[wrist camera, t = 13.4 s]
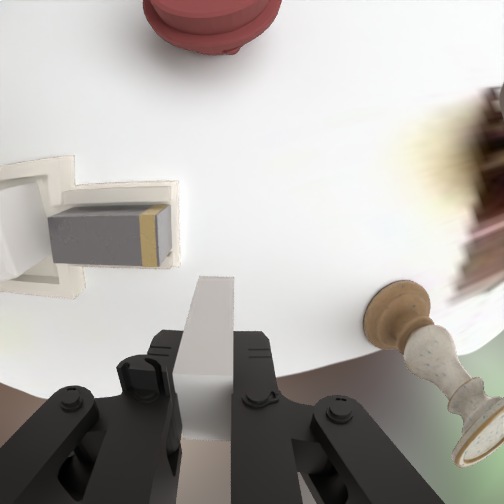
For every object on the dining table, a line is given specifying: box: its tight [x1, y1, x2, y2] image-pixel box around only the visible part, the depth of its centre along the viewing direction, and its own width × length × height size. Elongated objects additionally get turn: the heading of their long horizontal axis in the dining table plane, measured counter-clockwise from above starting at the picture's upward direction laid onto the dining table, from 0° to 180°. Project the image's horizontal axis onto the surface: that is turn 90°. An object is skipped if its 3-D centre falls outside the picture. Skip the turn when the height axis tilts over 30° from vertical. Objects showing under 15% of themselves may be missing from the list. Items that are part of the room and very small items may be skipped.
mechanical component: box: [143, 0, 282, 55], centre depth 17 cm, size 12×10×10 cm
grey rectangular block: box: [48, 204, 172, 267], centre depth 25 cm, size 4×10×5 cm, turn 88°
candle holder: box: [364, 281, 504, 468], centre depth 23 cm, size 9×9×20 cm
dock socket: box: [0, 156, 181, 299], centre depth 27 cm, size 14×25×3 cm, turn 88°
